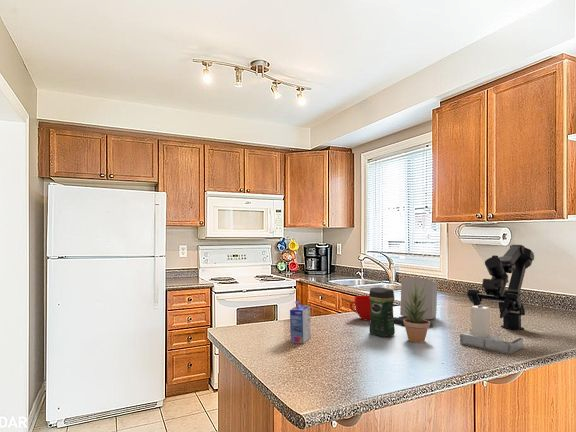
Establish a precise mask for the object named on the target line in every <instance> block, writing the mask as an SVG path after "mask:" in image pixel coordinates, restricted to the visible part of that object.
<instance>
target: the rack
mask: <svg viewBox="0 0 576 432" xmlns="http://www.w3.org/2000/svg"><path fill="white" fill-rule="evenodd" d="M460 343H461V345H466V346H469V347H470V346H471V347H474V346H475V348H478V347H479V348H480V349H483V350H488V351H494V352H499V353H502V354H508V355H513V354H514V353H515V352H517V351H520V349H523V348H524V338H522V337H519V338H517V339H515V340H513V341H511V342H510V341H505V340H500V333H495V334H491V335H490V337H487V338H485V337H480V336H475V335H471V329H470V331H467V332H465V333H464V332H461V333H459V344H460Z"/></svg>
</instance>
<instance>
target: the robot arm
mask: <svg viewBox="0 0 576 432" xmlns="http://www.w3.org/2000/svg"><path fill="white" fill-rule="evenodd" d="M534 260H535V254H534V252H533V251H532V249H530V248H528V247H525V246H524V245H522V244H511V245H509V248H508V250H507V251H506V252H505V253H504V255H503V256H499V255H492V256H491V257H489V258H487V259H486V260H484V265H485V268H486V269H487V272H488V274H489V275H490V276H491V277H490V278H482V283H481V287H482V288H483V291H484V293H481V292H480V291H479V289H475V288H474V289H472V288H469V289H468V290H467V291H466V295H467V297H468V299H469V301H470V302H471V303H472V304H473V306H478V305H482V304H481V303H482V301H483V300H488V301H493V302H498V309H499V319H503V320H502V321H503V323H502V325H500V327H502V328H505V329H508V330H513V331H516V330H517V331H518V330H525V327H523V326H522V316H526V308H525V306H524V303H523V301H522V298H521V296H520V295H521V294H520V293H521V291H522V285H523V281H524V277H525V273H526V270H527V269H528V268H530V267H531V266H532V263H533V261H534ZM508 274H511V277H510V279H509V275H508ZM507 284H508V287H507ZM506 287H507V290H506Z"/></svg>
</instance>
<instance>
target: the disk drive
mask: <svg viewBox="0 0 576 432" xmlns="http://www.w3.org/2000/svg"><path fill="white" fill-rule="evenodd" d="M393 317H394V316H393ZM407 317H408V318H409V316H407ZM407 317H406V316H402V315H401V316H398V317H396V316H395V317H394V324H396V325H398V326H403V327H405V325H404V322H403V320H404V319H408V318H407ZM428 321H429V320H428ZM429 322H430V327H429V328H433V325H434V324H433V322H432V321H429ZM429 328H428V329H429Z"/></svg>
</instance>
